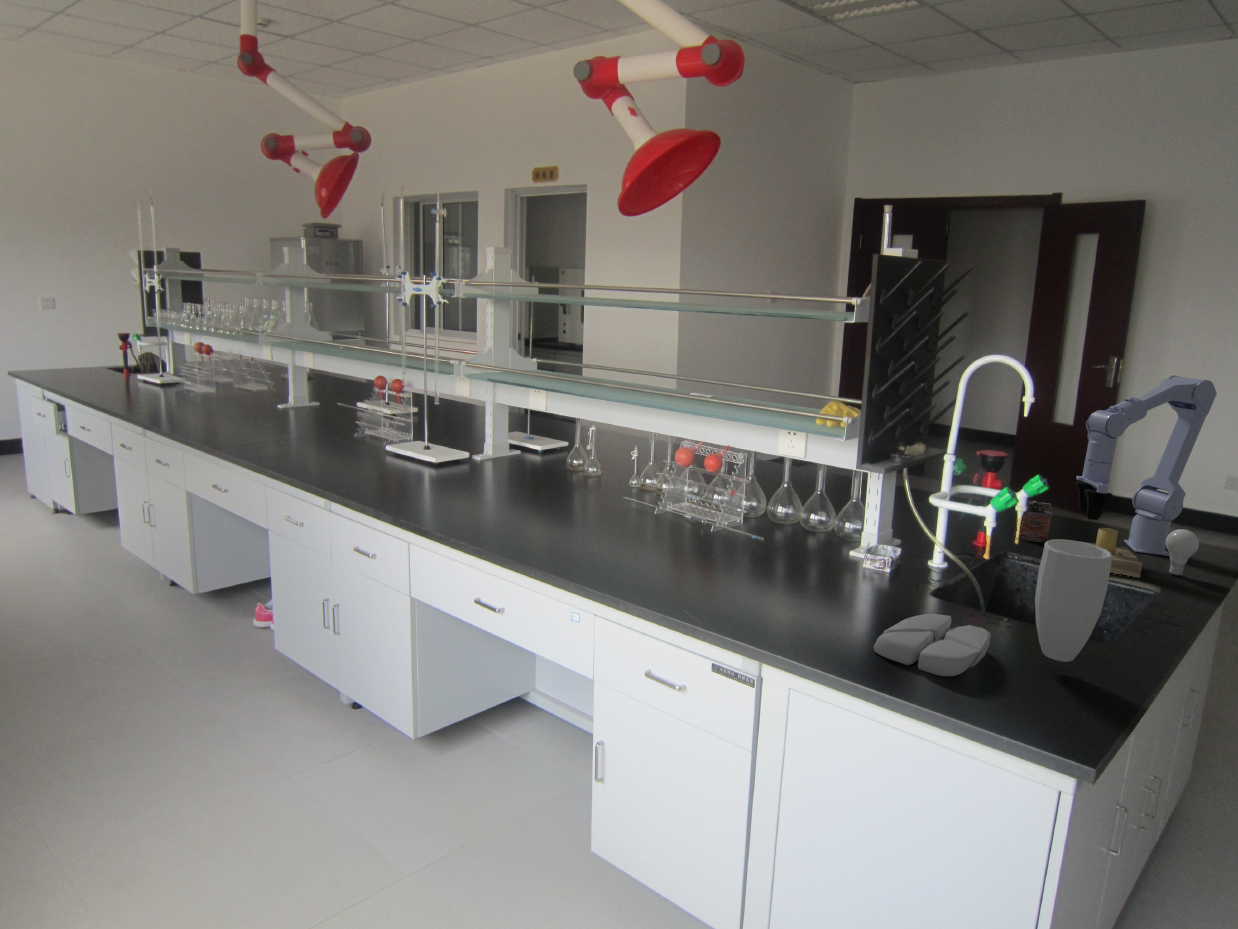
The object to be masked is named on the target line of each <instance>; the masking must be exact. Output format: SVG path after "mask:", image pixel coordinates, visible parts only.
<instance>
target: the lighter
mask: <svg viewBox="0 0 1238 929" xmlns="http://www.w3.org/2000/svg"><path fill="white" fill-rule="evenodd" d="M1028 502H1029V503H1028V509H1029V512H1027V513H1025V514H1024V515H1023V516H1022V521H1021V527H1020V535H1019V539H1018V540H1023V541H1029V542H1038V543H1039V542H1041V543H1046V542H1047V541H1049V530H1050V525H1051V520H1052V517H1053V514H1054V513H1053V512H1051V511H1047V510H1046V509H1048V510H1051V508H1052V504H1051V503H1050V502H1049V503H1048V502H1047V503H1046V502H1038V501H1036V500H1033V501H1028ZM1017 522H1018V518H1017V520H1016V523H1017ZM1016 531H1017V524H1016V526H1015V531H1014V534H1013V538H1014V537H1016Z"/></svg>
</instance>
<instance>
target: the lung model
mask: <svg viewBox="0 0 1238 929" xmlns="http://www.w3.org/2000/svg"><path fill="white" fill-rule="evenodd" d="M952 620H953V619H952V617H951V615H947V614H937V613H936V614H935V613H924V614H920V615H919V614H918V615H915V616H911V617H907V618H904V619H903V620H901V621H899V622H897V623H896V624H894V625H893V626H891V627H889V628H887V629H885V630H884V631H883V632H882V634H881V635H879V636H878V638H877V639H876V642H875V643H874V645H873V651H874V653H876V654H877V655H879V656H882V657H883V658H886V659H889V660H891V661H894V662H897V663H900V664H903V665H904V666H911V665H913V664H914V663H916V662H917V661H918V663H917V667H918V670H920V671H923V672H927V673H928V674H929V673H930V674H933V675H935V676H940V677H955V676H957V675H961V674H963V673H964V672H965V671H967V670H968V668H970V669H972V668H973V667H975V666H976V665H977V664H978V663H979V662H980V661H981V660H982V659H983V658H984V657H985V656H986V654H987V651H988V649H989V647H990V645H991V636H992V633H991V632H989V631H988V630H986V629H985V628H983V627H978V626H973V625H972V624H968V625H964V626H963V625H962V626H955V627H953V628H952V627H951V624H952Z"/></svg>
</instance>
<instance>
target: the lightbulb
mask: <svg viewBox="0 0 1238 929" xmlns="http://www.w3.org/2000/svg"><path fill="white" fill-rule="evenodd" d="M1165 543H1166V546H1165V548H1166V549H1167V552H1168V553H1169V554H1170V556H1169V561H1170V564H1169V569H1168V572H1169V573H1170V575H1172V576H1176V577H1178V576H1181V575H1183V573H1184V567H1185V565H1186V564H1187V563H1188V560H1189V559H1190V557H1191V556H1193V555H1194V554H1196V552H1197V551H1198V549H1199V546H1200V540H1199V538H1198V537H1197V535H1196V534H1195V533H1194V532H1192V531H1191V530H1188V529H1183V528H1181V529H1179V528H1178V529H1174V530H1173V531H1171V532H1170V533H1168V536H1167V538H1166V542H1165Z"/></svg>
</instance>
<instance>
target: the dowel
mask: <svg viewBox="0 0 1238 929" xmlns="http://www.w3.org/2000/svg"><path fill="white" fill-rule="evenodd" d="M1118 534H1119V531H1118V530H1116V529H1113V528H1109V527H1107V528H1106V527H1099V528H1098V530H1097V536H1096V542H1095V544H1096V546H1098V547H1101V548H1103V549H1106V550H1107V551H1108V552H1110V553H1111V554H1112V555H1114V552H1115V546H1116V547H1117V540H1118Z"/></svg>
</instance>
